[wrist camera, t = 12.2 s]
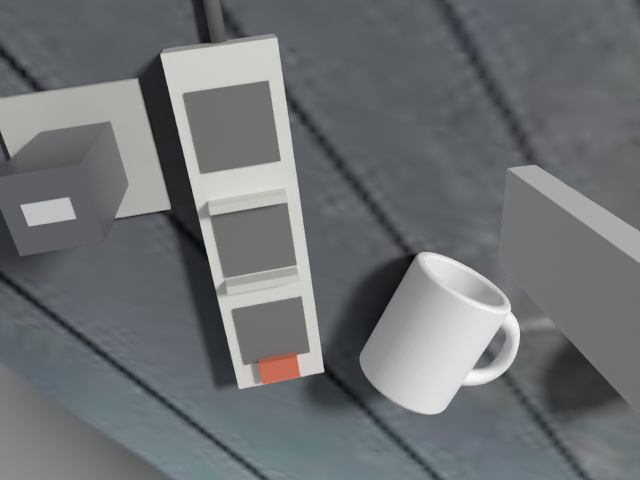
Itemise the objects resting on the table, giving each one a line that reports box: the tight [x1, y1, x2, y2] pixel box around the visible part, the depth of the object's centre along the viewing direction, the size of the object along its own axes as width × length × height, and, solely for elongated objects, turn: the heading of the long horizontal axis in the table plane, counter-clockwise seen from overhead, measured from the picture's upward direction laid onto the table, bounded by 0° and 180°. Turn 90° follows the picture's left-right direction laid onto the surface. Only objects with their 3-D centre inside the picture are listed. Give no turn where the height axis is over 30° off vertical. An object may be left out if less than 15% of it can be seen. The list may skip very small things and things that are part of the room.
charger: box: [0, 121, 129, 256], centre depth 32 cm, size 4×4×9 cm
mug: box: [360, 252, 520, 414], centre depth 44 cm, size 12×10×8 cm
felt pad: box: [0, 78, 171, 218], centre depth 37 cm, size 9×9×1 cm
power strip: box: [160, 0, 324, 389], centre depth 37 cm, size 34×7×4 cm, turn 7°
